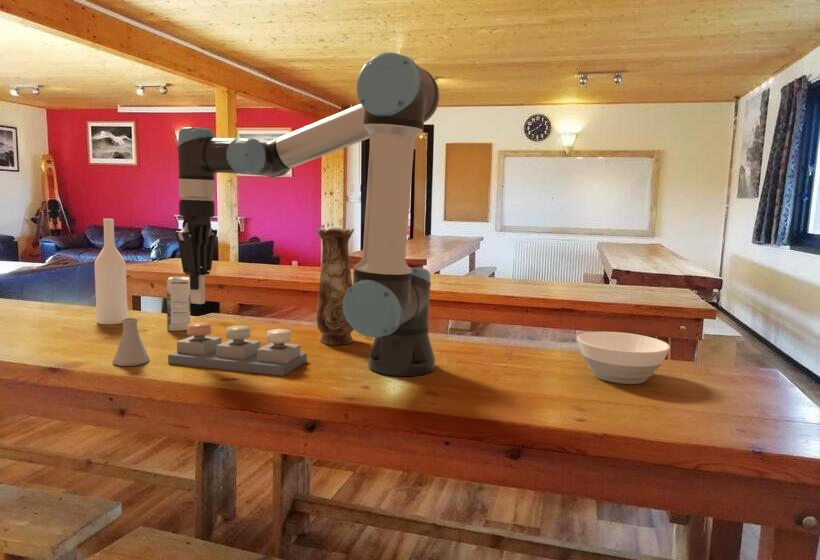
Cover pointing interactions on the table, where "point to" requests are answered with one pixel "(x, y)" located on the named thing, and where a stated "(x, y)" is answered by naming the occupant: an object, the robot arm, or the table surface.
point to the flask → (130, 346)
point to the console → (237, 356)
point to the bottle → (110, 280)
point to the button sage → (238, 334)
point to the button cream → (279, 337)
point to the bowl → (622, 355)
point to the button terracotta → (199, 330)
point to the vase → (334, 286)
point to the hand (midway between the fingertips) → (197, 303)
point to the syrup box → (178, 303)
